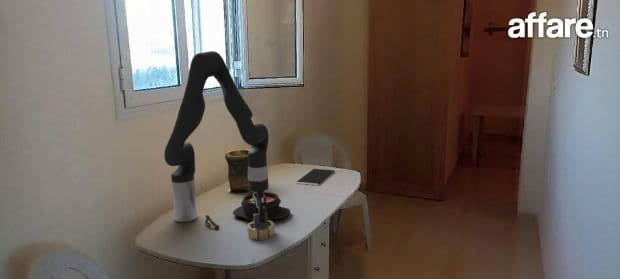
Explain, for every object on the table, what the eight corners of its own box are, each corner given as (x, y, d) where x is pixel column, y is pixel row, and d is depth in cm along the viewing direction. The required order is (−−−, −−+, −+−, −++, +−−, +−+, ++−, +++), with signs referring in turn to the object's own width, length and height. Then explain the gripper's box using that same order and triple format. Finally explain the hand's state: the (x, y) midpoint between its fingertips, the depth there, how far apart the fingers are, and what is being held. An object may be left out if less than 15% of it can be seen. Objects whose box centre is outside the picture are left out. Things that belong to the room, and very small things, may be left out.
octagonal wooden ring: (246, 231, 171) (245, 221, 171) (271, 227, 174) (270, 218, 174) (250, 241, 162) (249, 231, 161) (276, 237, 165) (276, 227, 164)
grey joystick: (251, 226, 170) (250, 212, 168) (266, 224, 172) (265, 209, 170) (255, 232, 164) (254, 217, 163) (270, 230, 166) (269, 215, 165)
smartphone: (294, 185, 230) (294, 182, 230) (313, 171, 254) (313, 168, 254) (318, 187, 225) (318, 184, 225) (335, 172, 249) (335, 169, 249)
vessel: (258, 185, 229) (256, 148, 224) (252, 195, 215) (249, 156, 210) (231, 185, 230) (228, 148, 225) (224, 195, 216) (220, 156, 212)
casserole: (296, 210, 193) (295, 192, 191) (282, 226, 175) (281, 207, 173) (243, 206, 199) (242, 188, 198) (225, 222, 182) (224, 203, 180)
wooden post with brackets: (206, 221, 181) (208, 212, 179) (217, 233, 177) (219, 224, 175) (202, 222, 180) (204, 214, 177) (213, 234, 175) (215, 226, 173)
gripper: (245, 173, 169) (247, 212, 172) (251, 183, 156) (253, 226, 159) (264, 171, 171) (266, 210, 175) (271, 181, 158) (274, 223, 161)
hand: (260, 217), depth 167 cm, fingers open, 8 cm apart
